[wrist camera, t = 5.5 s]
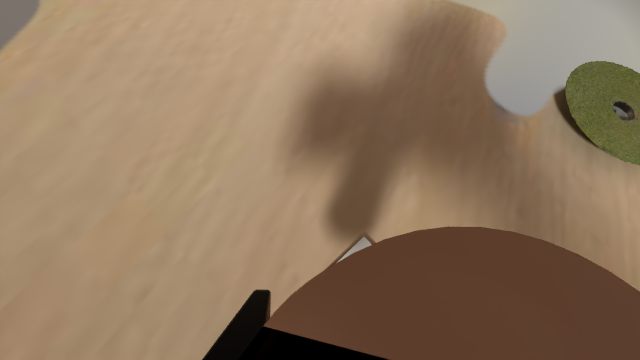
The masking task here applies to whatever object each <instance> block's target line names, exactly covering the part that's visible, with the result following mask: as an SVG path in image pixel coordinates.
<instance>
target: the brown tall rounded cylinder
mask: <svg viewBox="0 0 640 360" xmlns="http://www.w3.org/2000/svg"><path fill="white" fill-rule="evenodd" d="M238 360H640V292H639V291H638V290H636V289H635V288H633V287H632V286H630V285H629V284H628V283H626V282H625V281H623V280H622V279H620V278H619V277H617V276H616V275H614V274H613V273H611V272H610V271H608V270H606V269H604V268H602V267H600V266H599V265H597V264H595V263H593V262H591V261H589V260H587V259H586V258H584V257H582V256H580V255H578V254H576V253H573V252H571V251H569V250H566V249H564V248H561V247H559V246H556V245H554V244H551V243H549V242H547V241H543V240H540V239H536V238H533V237H529V236H526V235H522V234H518V233H515V232H510V231H503V230H496V229H489V228H483V227H443V228H435V229H427V230H418V231H414V232H410V233H406V234H403V235H399V236H395V237H392V238H388V239H384V240H382V241H380V242H378V243H375V244H373V245H371V246H368V247H366V248H364V249H361V250H359V251H357V252H354V253H352V254H351V255H349V256H347V257H346V258H344V259H343V260H341V261H339V262H338V263H336V264H334V265H333V266H331V267H329V268H328V269H326V270H324V271H323V272H321V273H320V274H318V275H317V276H315V277H314V278H312V279H311V280H309V281H308V282H307V283H305V284H304V285H303V286H302V287H300V288H299V289H298V290H297V291H295V292H294V293H293V294H292V295H291V296H290V297H289V298H288V299H287V300H286V301H285V302H284V303H283V304H282V305H281V306H280V307H279V308H278V309H277V310H276V311H275V312H274V314H273V315H272V316H271V317H270V319H269V320H268V321H267V322H266V323H265V325H264V326H263V327H262V328H261V330H260V331H259V332H258V334H257V335H256V336H255V338H254V339H253V340H252V342H251V343H250V344H249V346H248V347H247V348H246V350H245V351H244V352H243V354H242V355H241V356H240V358H239V359H238Z"/></svg>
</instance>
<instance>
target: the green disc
mask: <svg viewBox="0 0 640 360" xmlns="http://www.w3.org/2000/svg"><path fill="white" fill-rule="evenodd" d="M565 91H566V100H567V104H568V107H569V109H570V113H571V114H572V115H571V116H572V117H573V118H574V120H575V121H576V124H577V125H578V126H579V127H580V129H581V130H582V131H583V132H584V133H585V134H586V136H587V137H588V138H589V139H591V141H592V142H593V143H595V144H596V145H597V146H598V147H600V148H601V149H602V150H604V151H605V152H606V153H609V154H610V155H612V156H614V157H616V158H619V159H620V160H623V161H624V162H631V163H632V164H638V165H640V74H639V73H637V72H635V71H634V70H632V69H629V68H628V67H624V66H622V65H619V64H615V63H611V62H606V61H600V62H599V61H596V62H588V63H585V64H583V65H580V66H579V67H578V68H576V69H575V70H574V71H573V72H571V74H570V76H569V77H568V80H567V82H566V87H565Z"/></svg>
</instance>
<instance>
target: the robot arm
mask: <svg viewBox="0 0 640 360" xmlns="http://www.w3.org/2000/svg"><path fill="white" fill-rule="evenodd" d="M270 299H271V293H270V291H269V290H255V291H254V292H253V293H252V294H251V295H250V297H249V298H248V299H247V301H246V302H245V303H244V305H243V306H242V307H241V309H240V310H239V311H238V313H237V314H236V315H235V317H234V318H233V319H232V321H231V322H230V323H229V325H228V326H227V327H226V329H225V330H224V331H223V333H222V334H221V335H220V337H219V338H218V339H217V341H216V342H215V343H214V345H213V346H212V347H211V349H210V350H209V351H208V353H207V354H206V355H205V356H204V358H203V359H202V360H238V359H239V358H240V356H241V355H242V354H243V352H244V351H245V350H246V348H247V347H248V346H249V344H250V343H251V342H252V340H253V339H254V338H255V336H256V335H257V334H258V332H259V331H260V330H261V328H262V327H263V326H264V325H265V323H266V322H267V321H268V320H269V319H270Z"/></svg>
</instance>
